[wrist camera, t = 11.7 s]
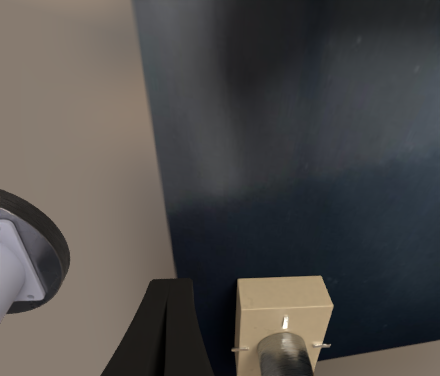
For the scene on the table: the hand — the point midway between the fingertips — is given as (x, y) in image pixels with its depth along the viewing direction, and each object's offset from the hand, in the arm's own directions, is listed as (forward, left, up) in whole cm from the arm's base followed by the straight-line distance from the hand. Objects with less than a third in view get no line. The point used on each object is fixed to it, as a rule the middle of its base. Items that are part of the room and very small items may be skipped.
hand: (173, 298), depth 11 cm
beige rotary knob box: (+7, -16, -10) cm, 20 cm away
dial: (+7, -16, -7) cm, 19 cm away
